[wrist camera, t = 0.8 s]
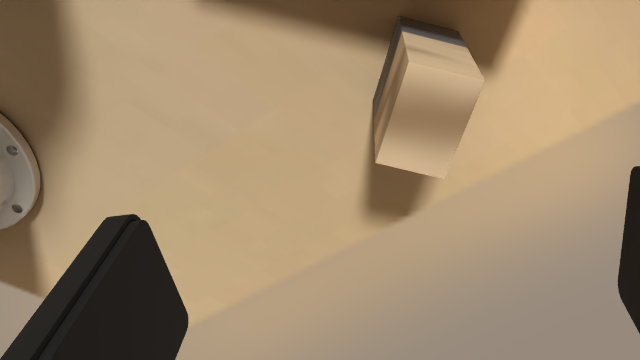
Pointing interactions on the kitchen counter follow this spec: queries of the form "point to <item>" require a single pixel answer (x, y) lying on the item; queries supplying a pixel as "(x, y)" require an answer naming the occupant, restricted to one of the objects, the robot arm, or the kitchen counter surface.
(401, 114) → the beige upright block
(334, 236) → the kitchen counter surface
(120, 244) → the robot arm
